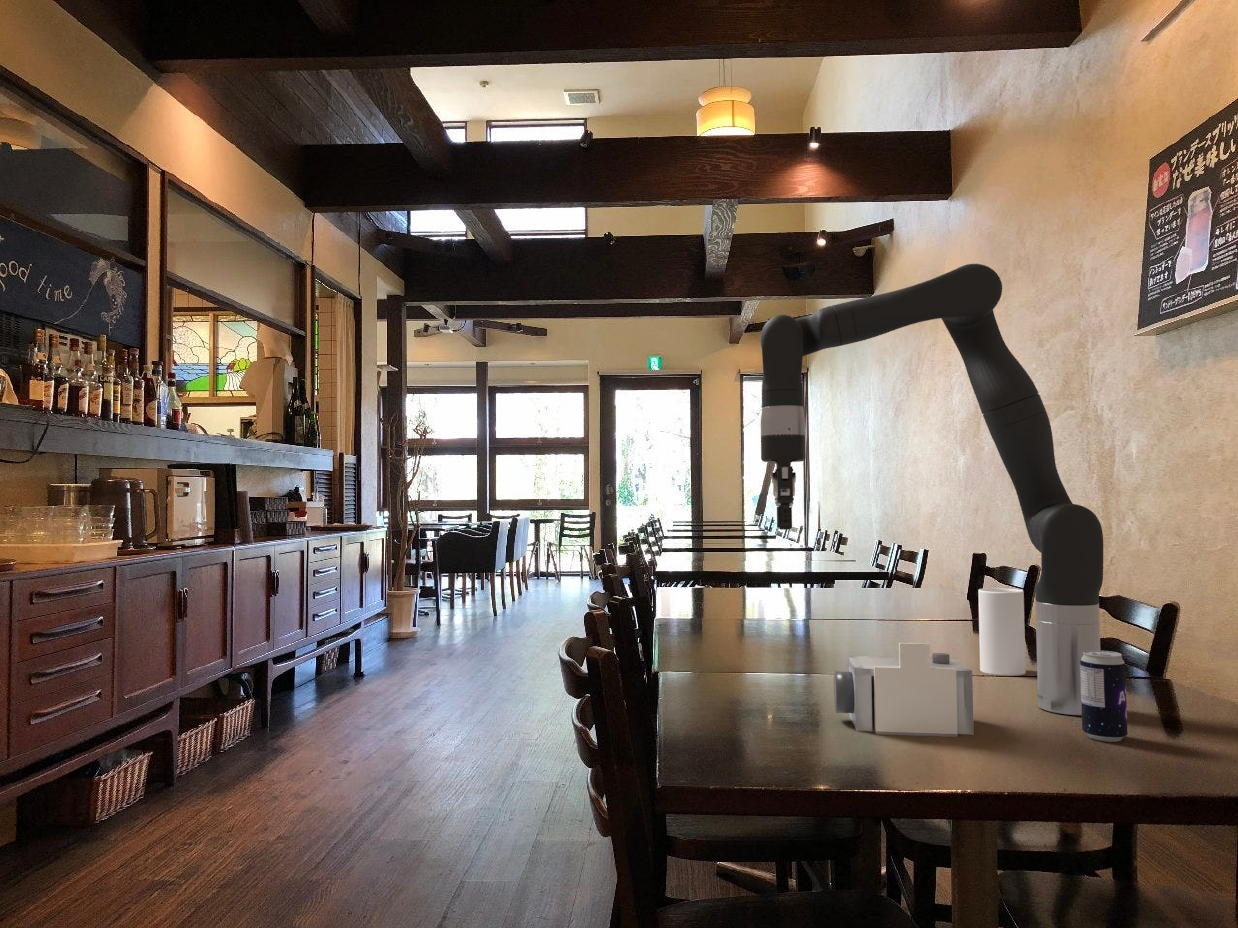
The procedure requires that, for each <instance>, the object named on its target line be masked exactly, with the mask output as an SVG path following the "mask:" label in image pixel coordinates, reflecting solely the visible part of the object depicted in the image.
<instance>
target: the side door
mask: <svg viewBox="0 0 1238 928" xmlns="http://www.w3.org/2000/svg"><path fill="white" fill-rule="evenodd" d="M930 656H931V655H930V643H929V642H901V641H900V642H898V657H899V667H897V666H874V705H875V731H874V734H875V735H884V736H885V735H889V736H911V737H912V736H918V737H919V736H921V737H948V738H949V737H951V738H958V737H959V736H958V735H959V734H957V689H956V669H955V668H945V667H930V658H931V657H930Z"/></svg>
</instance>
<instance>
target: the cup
mask: <svg viewBox="0 0 1238 928" xmlns="http://www.w3.org/2000/svg"><path fill="white" fill-rule="evenodd" d="M977 591H978V592H977V593H978V594H977V595H978V596H977V597H978V629H979V631H978V633H979V634H978V635H979V670H980V672H981V673H985V674H988V675H994V676H1004V677H1005V676H1006V677H1007V676H1008V677H1014V676H1015V677H1016V676H1023V675H1025V674H1026V672H1027V671H1026V639H1025V635H1026V634H1025V633H1026V631H1025V597H1024V595H1025V594H1024V590H1023V589H1017V588H1008V587H1007V588H1006V587H983V588H979V589H978V590H977Z"/></svg>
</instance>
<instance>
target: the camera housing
mask: <svg viewBox="0 0 1238 928" xmlns="http://www.w3.org/2000/svg"><path fill="white" fill-rule="evenodd" d="M874 666H897V667H899V656H869V655H867V656H866V655H863V656H862V655H861V656H860V655H859V656H857V655H848V656H847V669H848V670H847V671H834V672H833V700H834V701H833V702H834V711H835V713H836V714H848V715H849V718H850V720H851V722H852V724H853V726H854V729H855V731H856V732H875V705H874ZM930 667H945V668H955V669H956V689H957V734H958V735H974V689H973V688H974V686H973V670H972V669H970V668H969V667H968V666H967V665H965V664H964V663H963V662H961V661H960V660H959V659H958V658H956V657H950V653H944V652H936V653H935V652H934V653H932V657H930Z"/></svg>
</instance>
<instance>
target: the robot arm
mask: <svg viewBox="0 0 1238 928" xmlns="http://www.w3.org/2000/svg"><path fill="white" fill-rule="evenodd" d="M1002 293H1003V283H1002V280H1001V277H1000V276H999V274H998V273H997V272H996V271H995V270H994V269H993V268H991V267H990V266H987V265H985V264H981V263H968V264H965V265H962V266H959V267H957V268H956V269H953V270H950V271H948V272H946V273H943V274H941V275H937V276H936V277H933V278H931V279H928V280H925V281H923V282H920V283H917V284H916V283H915V285H911V286H907V287H904V288H900V289H897V290H893V291H889V292H885V293H881V294H877V295H872V296H867V297H862V298H859V299H855V300H850V301H846V302H845V301H844V302H841V303H837V304H832V305H829V306H825V307H823V308H820V309H818V310H817V311H815V312H814V313H812V314H809V315H806V316H801V317H797V318H794V317H793V316H790V315H788V314H779V315H775V316H772V317H771V318H770V319H768V320H767V321H766V322H765V324H764V326H763V327H762V329H761V332H760V333H761V335H760V346H761V354H762V355H761V356H762V358H761V359H762V372H763V373H762V374H763V376H762V382H761V414H760V459H761V462H764V463H774V464H775V467H776V468H775V470H774V472H771V483H772V492H773V493H772V495H773V497H774V503H775V506H776V526H777V527H778V529H779V530H781V531H782V530H783V531H784V530H785V531H786V530H792V528H793V505H794V501H795V500H794V499H795V498H794V497H795V495H796V487H795V486H796V485H795V484H796V480H797V475H796V471H795V472H794V468H793V466H792V463H798V462H804V461H805V460H806V459H807V457H806V456H807V455H806V447H807V446H806V418H805V411H804V386H803V385H804V384H803V377H802V375H803V371H802V370H803V359H804V358H803V357H805V356H808V355H812V354H813V353H817V352H819V351H822V350H826V349H830V348H838V347H841V346H845V345H850V344H854V343H855V344H856V343H858V342H862V341H867V340H870V339H872V338H876V337H879V336H882V335H885V334H887V333H890V332H894V331H896V330H899V329H901V328H904V327H908V326H911V325H915V324H918V323H923V322H927V321H931V320H938V319H941V321H942V322H943V324H944V326H945V328H946V329H947V331H948V333H949V335H950V337H951V339H952V341H953V343H954V345H955V347H956V348H957V351H958V352H959V354H960V356H961V359H962V361H963V364H964V367H965V370H966V372H967V375H968V376H967V377H968V378H969V379H968V380H969V382H970V385H971V388H972V390H973V392H974V395H975V398H976V400H977V403H978V406H979V410H980V411H981V415H982V418H983V419H984V421H985V424H986V427H987V429H988V431H989V432H988V433H989V434H990V436H991V438H992V440H993V443H994V445H995V448H996V449H997V452H998V454H999V456H1000V459H1001V461H1002V464H1003V465H1004V467H1005V469H1006V472H1007V474H1008V476H1009V478H1010V480H1011V482H1012V484H1013V487H1014V490H1015V493H1016V496H1017V500H1018V502H1019V507H1020V509H1021V514H1022V516H1023V520H1024V524H1025V525H1024V526H1025V527H1026V532H1027V534H1028V538H1029V540H1030V542H1031V543H1032V545H1033V546H1034V547H1035V549H1036V550H1037V551H1038V552H1039V553H1041V554H1040V556H1041V558H1040V559H1041V562H1040V564H1041V567H1040V568H1041V569H1040V570H1041V571H1040V576H1039V579H1038V582H1037V583H1036V584H1035V587H1034V594H1035V597H1034V598H1035V630H1036V632H1035V633H1036V636H1035V637H1036V667H1037V669H1036V670H1037V671H1036V672H1037V673H1036V675H1037V678H1036V679H1037V706H1038V707H1039V708H1040V709H1042V710H1044V711H1048V712H1050V713H1055V714H1060V715H1061V714H1063V715H1071V716H1082V706H1081V670H1080V660H1081V658H1082V657H1083V652H1084V651H1089V650H1100V651H1101V629H1100V628H1101V626H1100V592H1101V590H1102V586H1103V581H1104V535H1103V528H1102V525H1101V522H1100V520H1099V518H1098V516H1097V515H1096V514H1095V512H1093V511H1092V510H1091V509H1089V508H1087V507H1086V506H1083V505H1080V504H1075V503H1073V502H1072V500H1071V499H1070V497H1069V494H1068V493H1067V490H1066V488H1065V486H1064V483H1063V482H1062V480H1061V477H1060V474H1059V472H1058V468H1057V464H1056V457H1055V447H1054V439H1053V438H1054V437H1053V430H1052V426H1051V422H1050V418H1049V415H1048V412H1047V409H1046V408H1045V405H1044V403H1043V400H1042V398H1041V395H1040V392H1039V391H1038V388H1037V387H1036V385H1035V383H1034V381H1033V380H1032V378H1031V377H1030V375H1029V373H1028V372H1027V371H1026V369H1025V368H1024V367H1023V365H1022V364H1021V363H1020V362H1019V360H1018V359H1017V358H1016V357H1015V355H1013V353H1012V352H1011V351H1010V349H1009V347H1008V346H1007V344H1006V342H1005V340H1004V338H1003V337H1002V334H1001V331H1000V327H999V326H998V323H997V319H996V316H995V312H994V309H995V308H996V307H997V306H998V303H999V302H1000V300H1001V297H1002V295H1003V294H1002Z"/></svg>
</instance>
